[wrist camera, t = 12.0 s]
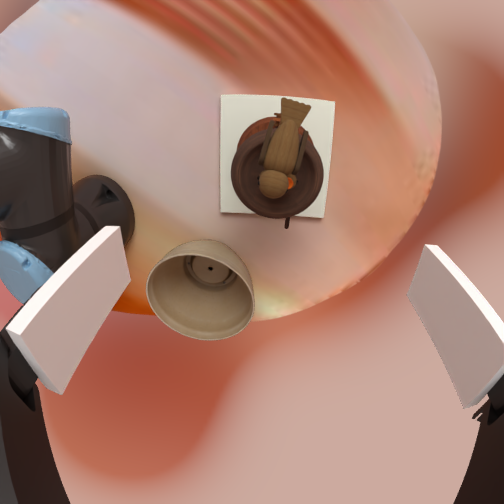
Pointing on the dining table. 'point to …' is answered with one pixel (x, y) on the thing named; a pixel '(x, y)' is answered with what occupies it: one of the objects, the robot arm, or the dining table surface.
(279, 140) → the music box
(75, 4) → the dining table surface
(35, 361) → the robot arm
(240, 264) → the planter bowl
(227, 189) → the board
